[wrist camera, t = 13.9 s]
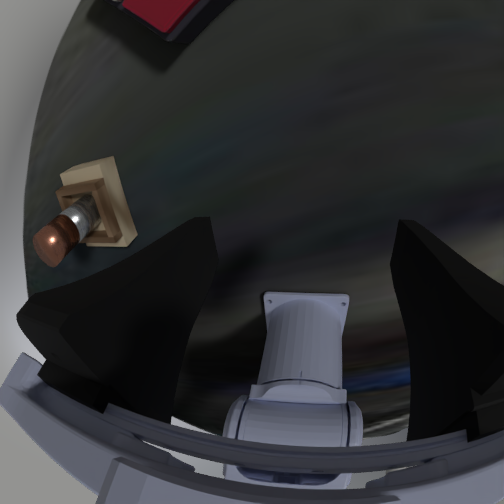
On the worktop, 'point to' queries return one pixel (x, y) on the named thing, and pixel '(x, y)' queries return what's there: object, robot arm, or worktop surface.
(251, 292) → the worktop surface
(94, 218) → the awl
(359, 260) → the worktop surface
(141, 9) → the calculator
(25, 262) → the worktop surface
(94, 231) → the tan rectangular frame
